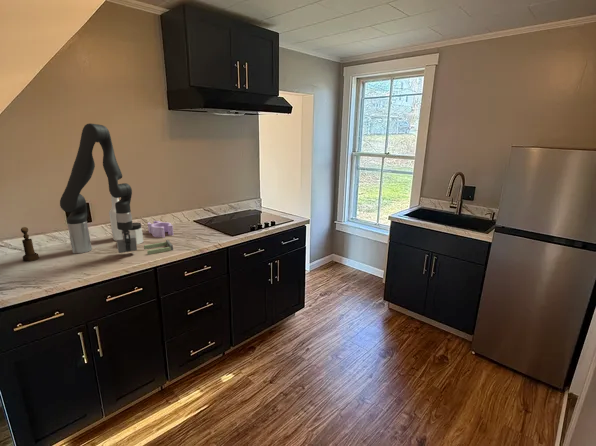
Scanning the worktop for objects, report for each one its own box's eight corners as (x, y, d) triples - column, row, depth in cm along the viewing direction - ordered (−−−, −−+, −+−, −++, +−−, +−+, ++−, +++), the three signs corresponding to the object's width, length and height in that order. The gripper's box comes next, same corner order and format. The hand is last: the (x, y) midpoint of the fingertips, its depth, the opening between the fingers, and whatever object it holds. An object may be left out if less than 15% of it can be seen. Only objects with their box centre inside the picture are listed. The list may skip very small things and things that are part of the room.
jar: (137, 239, 203) (135, 221, 200) (146, 241, 200) (144, 223, 196) (125, 243, 195) (122, 225, 192) (134, 245, 192) (131, 226, 189)
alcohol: (118, 241, 198) (111, 194, 190) (110, 239, 202) (102, 193, 194) (131, 237, 206) (125, 192, 197) (122, 235, 209) (116, 191, 201)
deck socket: (147, 254, 178) (147, 249, 178) (144, 248, 187) (143, 243, 187) (173, 250, 186) (172, 245, 185) (168, 244, 195) (168, 239, 194)
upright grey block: (118, 253, 173) (117, 240, 171) (117, 250, 177) (116, 237, 175) (137, 250, 178) (135, 237, 176) (135, 247, 182) (134, 235, 179)
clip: (143, 233, 216) (142, 223, 214) (160, 228, 226) (159, 219, 224) (160, 239, 205) (158, 228, 203) (177, 234, 215) (176, 224, 213)
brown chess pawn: (37, 256, 174) (30, 224, 169) (40, 259, 170) (33, 227, 165) (22, 259, 169) (14, 227, 164) (24, 262, 165) (17, 230, 160)
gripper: (115, 217, 176) (118, 246, 181) (117, 224, 165) (121, 254, 169) (130, 216, 180) (133, 244, 185) (133, 222, 169) (137, 252, 173)
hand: (127, 249), depth 177 cm, fingers closed on upright grey block, 5 cm apart
